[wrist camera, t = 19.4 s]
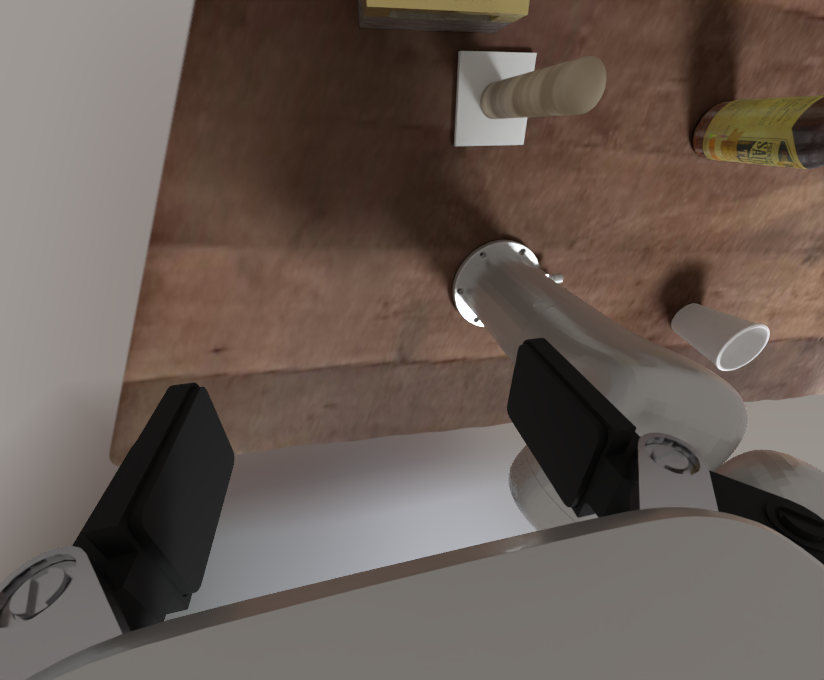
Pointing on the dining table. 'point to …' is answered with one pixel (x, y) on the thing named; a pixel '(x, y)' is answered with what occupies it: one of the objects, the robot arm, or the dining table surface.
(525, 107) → the beige cylinder rod
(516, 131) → the pad
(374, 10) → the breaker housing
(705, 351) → the dixie cup
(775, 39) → the dining table surface
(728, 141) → the sauce bottle
